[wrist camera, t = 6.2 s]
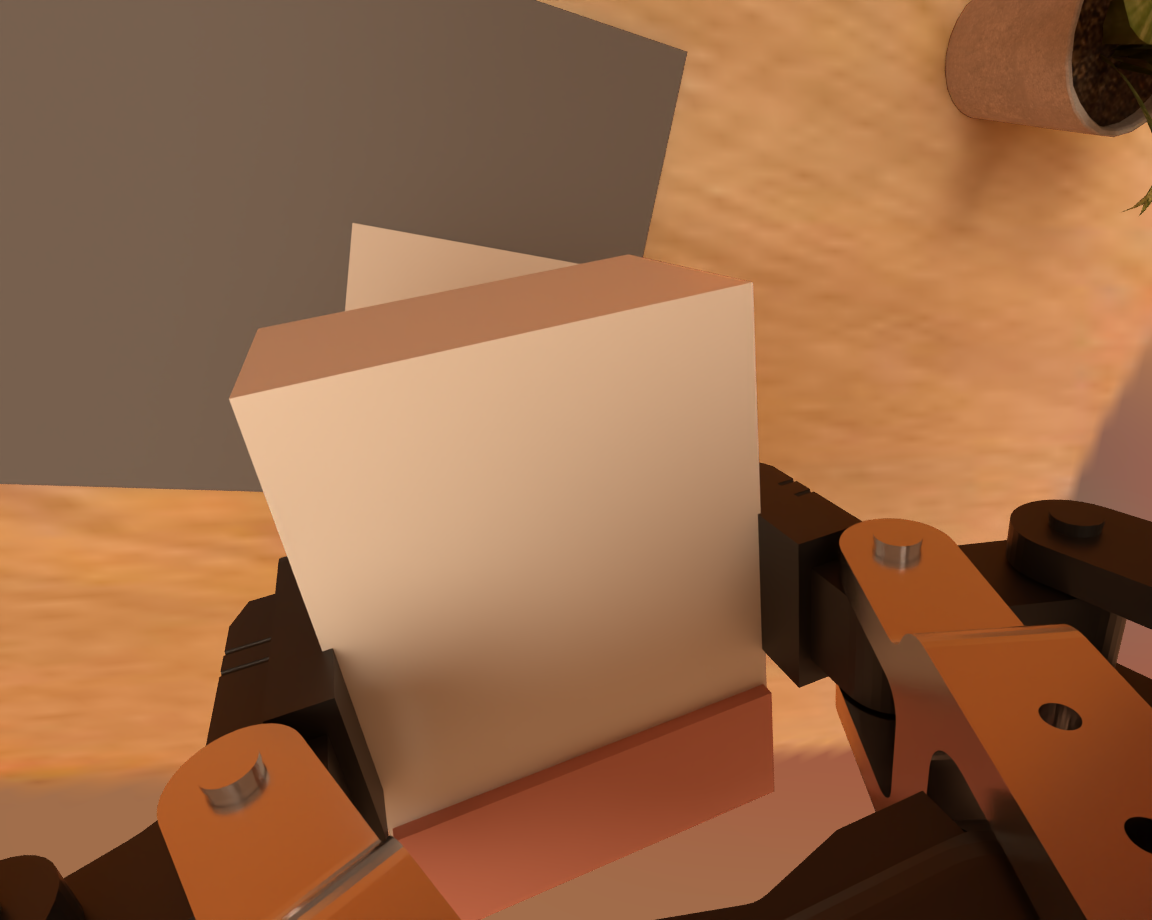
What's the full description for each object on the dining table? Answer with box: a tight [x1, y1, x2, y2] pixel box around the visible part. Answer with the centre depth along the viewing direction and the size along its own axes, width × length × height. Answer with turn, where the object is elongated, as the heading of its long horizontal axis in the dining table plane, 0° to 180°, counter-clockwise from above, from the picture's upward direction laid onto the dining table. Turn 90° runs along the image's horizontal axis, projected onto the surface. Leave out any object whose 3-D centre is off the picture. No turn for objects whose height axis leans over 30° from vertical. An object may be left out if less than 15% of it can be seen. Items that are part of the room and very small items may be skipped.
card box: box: [229, 254, 774, 920], centre depth 10 cm, size 8×6×4 cm
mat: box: [0, 0, 687, 492], centre depth 24 cm, size 22×18×1 cm
